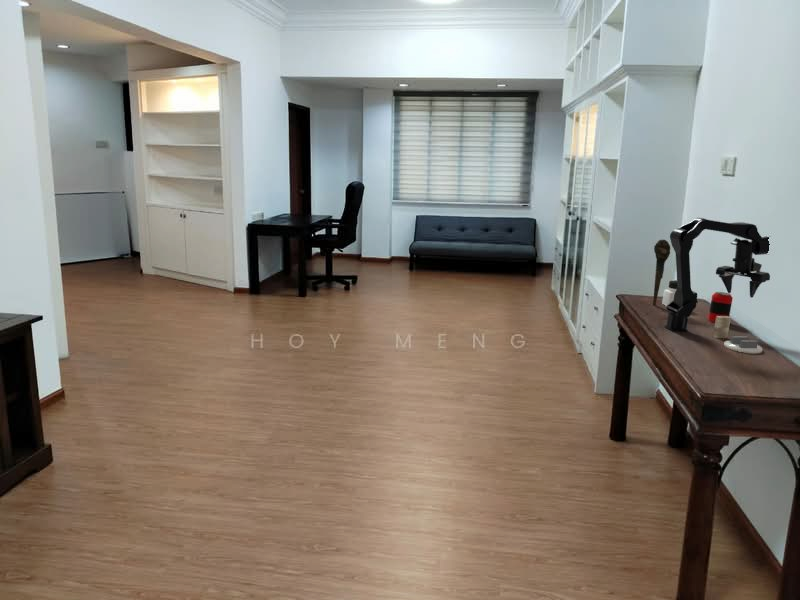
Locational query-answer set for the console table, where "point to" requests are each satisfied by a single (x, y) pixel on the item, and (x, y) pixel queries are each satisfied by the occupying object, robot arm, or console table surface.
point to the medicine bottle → (669, 292)
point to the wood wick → (721, 326)
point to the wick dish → (743, 345)
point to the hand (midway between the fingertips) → (740, 295)
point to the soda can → (720, 305)
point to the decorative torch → (660, 264)
